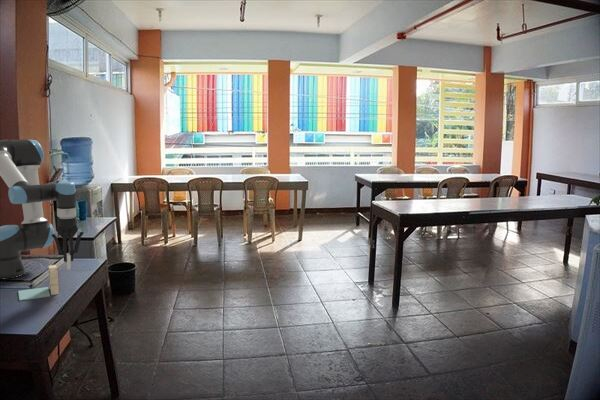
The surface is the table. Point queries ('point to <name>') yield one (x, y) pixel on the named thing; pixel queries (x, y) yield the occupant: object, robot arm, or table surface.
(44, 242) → the robot arm
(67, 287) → the table surface
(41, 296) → the mat
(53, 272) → the slab
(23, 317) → the table surface
